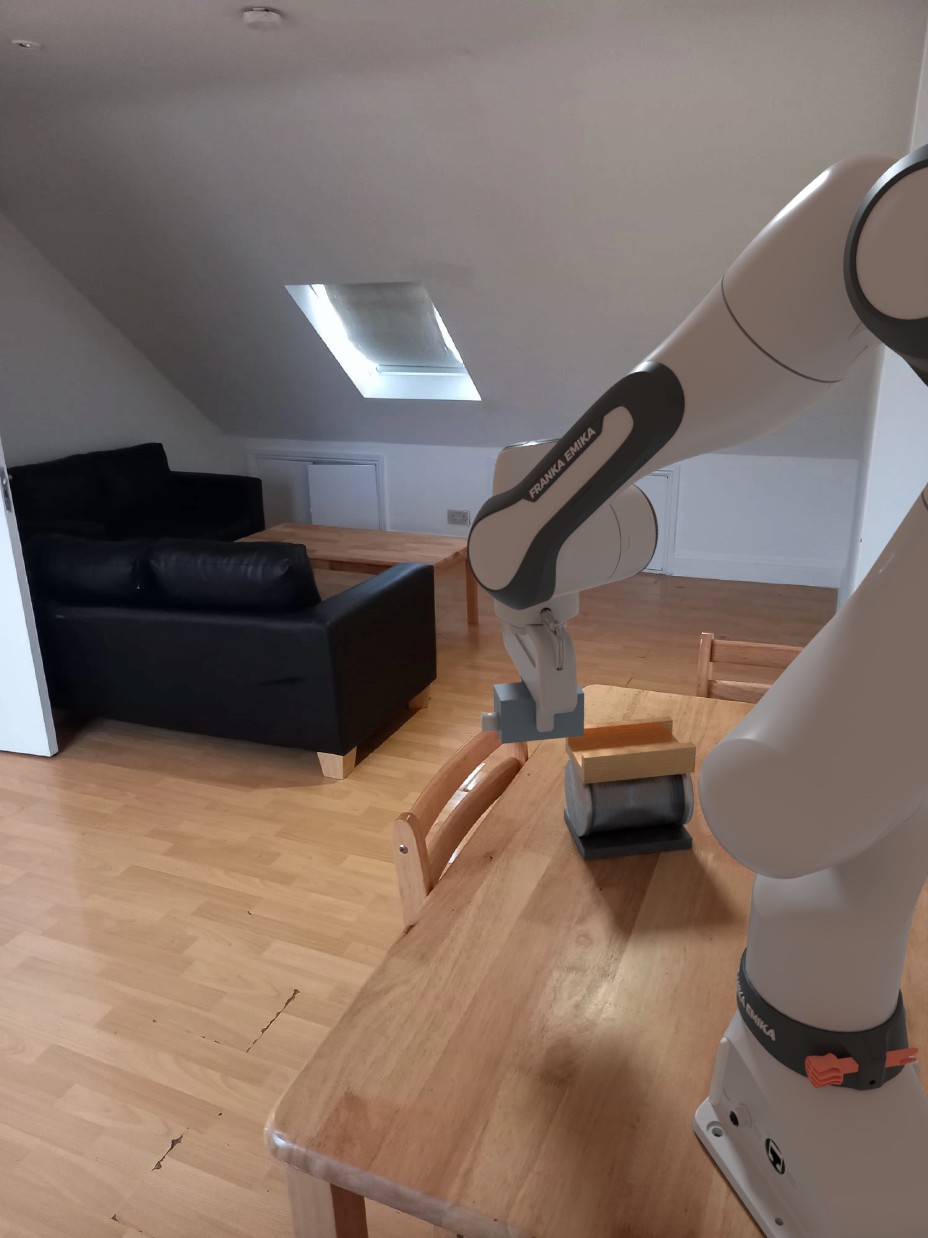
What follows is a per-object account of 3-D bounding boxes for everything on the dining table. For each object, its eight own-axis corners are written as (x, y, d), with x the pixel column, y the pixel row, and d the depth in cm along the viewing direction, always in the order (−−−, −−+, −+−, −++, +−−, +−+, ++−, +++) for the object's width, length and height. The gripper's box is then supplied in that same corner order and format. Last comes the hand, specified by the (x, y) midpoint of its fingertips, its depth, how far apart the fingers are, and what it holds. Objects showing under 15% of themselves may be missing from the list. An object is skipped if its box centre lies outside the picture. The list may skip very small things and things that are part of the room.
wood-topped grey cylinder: (691, 848, 108) (698, 749, 103) (584, 860, 106) (585, 760, 101) (663, 807, 117) (667, 714, 112) (563, 817, 115) (564, 724, 111)
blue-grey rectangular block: (583, 735, 92) (584, 693, 90) (486, 745, 90) (484, 702, 89) (572, 718, 96) (573, 677, 94) (479, 727, 95) (478, 685, 93)
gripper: (594, 625, 79) (592, 758, 83) (543, 569, 98) (544, 679, 103) (527, 630, 78) (529, 764, 83) (489, 573, 98) (493, 684, 102)
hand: (537, 717), depth 93 cm, fingers closed on blue-grey rectangular block, 4 cm apart
